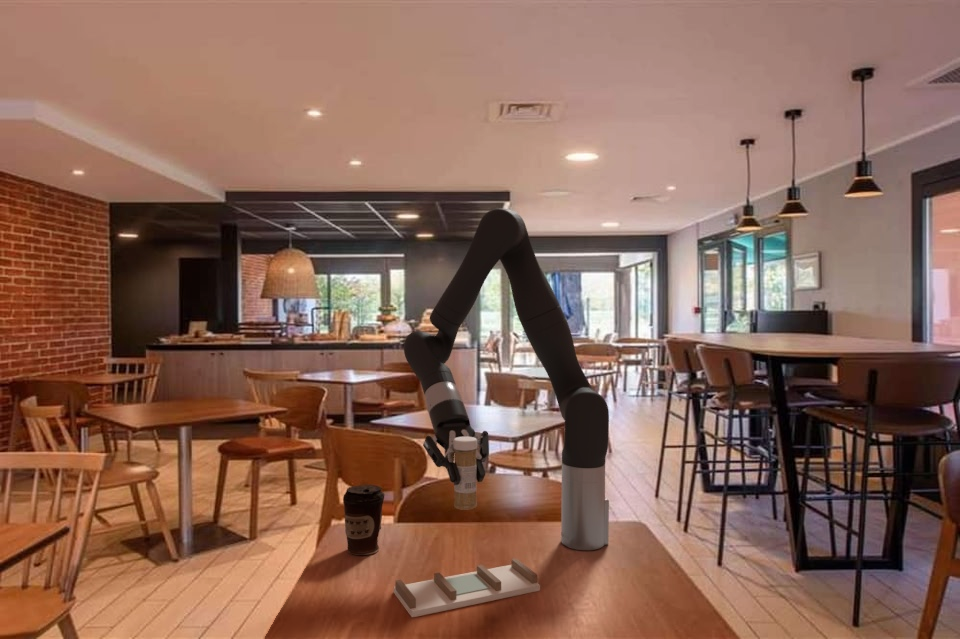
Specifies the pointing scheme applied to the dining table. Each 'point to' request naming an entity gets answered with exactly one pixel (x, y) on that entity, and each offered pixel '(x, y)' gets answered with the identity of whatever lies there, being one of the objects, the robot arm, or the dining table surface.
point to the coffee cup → (363, 518)
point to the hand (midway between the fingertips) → (469, 480)
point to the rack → (466, 588)
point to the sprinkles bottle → (465, 472)
